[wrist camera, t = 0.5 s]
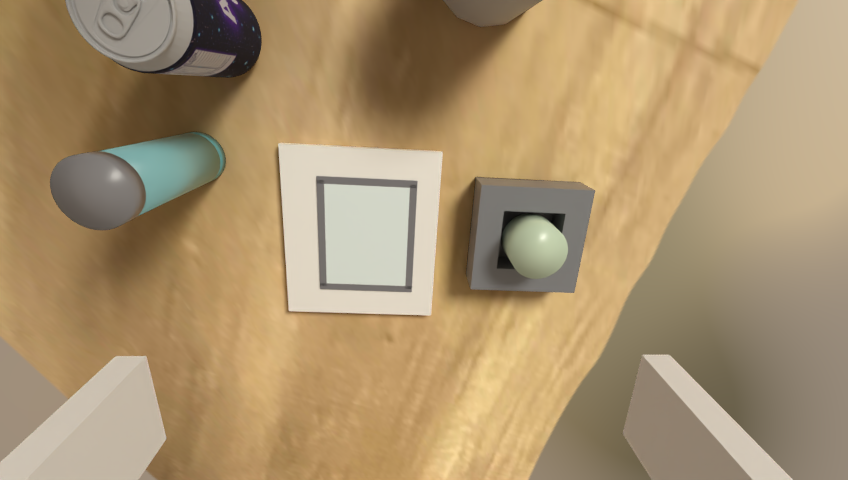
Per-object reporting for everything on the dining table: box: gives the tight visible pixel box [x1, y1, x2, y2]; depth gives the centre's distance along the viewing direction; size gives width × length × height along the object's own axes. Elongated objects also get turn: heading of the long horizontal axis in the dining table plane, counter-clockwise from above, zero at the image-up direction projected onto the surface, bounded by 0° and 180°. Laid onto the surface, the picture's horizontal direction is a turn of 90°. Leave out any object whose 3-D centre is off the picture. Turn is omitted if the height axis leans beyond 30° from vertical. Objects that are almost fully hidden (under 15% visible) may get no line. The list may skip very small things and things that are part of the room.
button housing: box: [466, 177, 595, 293], centre depth 35 cm, size 9×9×3 cm
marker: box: [50, 132, 226, 230], centre depth 28 cm, size 4×4×12 cm
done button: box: [502, 213, 568, 279], centre depth 33 cm, size 4×4×3 cm
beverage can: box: [65, 0, 261, 78], centre depth 25 cm, size 6×6×12 cm
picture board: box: [278, 143, 443, 315], centre depth 36 cm, size 15×13×1 cm
